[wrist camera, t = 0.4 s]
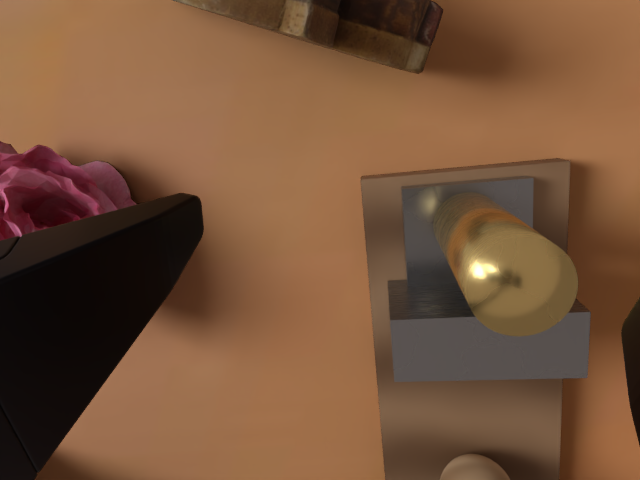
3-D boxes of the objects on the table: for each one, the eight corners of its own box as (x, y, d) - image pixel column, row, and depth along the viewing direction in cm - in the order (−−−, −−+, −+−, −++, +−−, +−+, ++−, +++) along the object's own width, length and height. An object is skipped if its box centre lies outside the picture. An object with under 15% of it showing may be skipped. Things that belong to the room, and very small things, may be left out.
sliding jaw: (545, 325, 23) (651, 456, 14) (391, 331, 24) (398, 455, 15) (548, 173, 21) (673, 212, 12) (380, 188, 22) (382, 233, 13)
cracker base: (547, 521, 28) (595, 635, 22) (389, 517, 30) (392, 623, 23) (558, 158, 22) (626, 172, 16) (361, 176, 24) (355, 195, 18)
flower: (129, 133, 28) (152, 167, 20) (137, 273, 32) (160, 349, 24) (-106, 127, 23) (-202, 170, 15) (-66, 295, 27) (-126, 404, 19)
